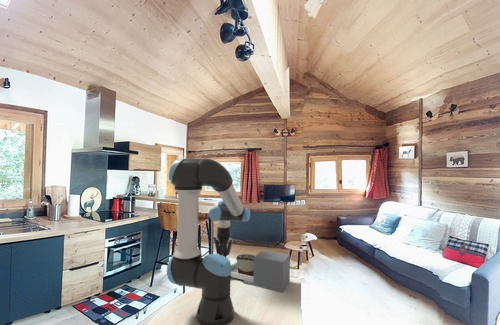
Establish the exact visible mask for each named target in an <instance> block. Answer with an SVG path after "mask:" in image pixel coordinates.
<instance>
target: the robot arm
mask: <svg viewBox="0 0 500 325" xmlns="http://www.w3.org/2000/svg"><path fill="white" fill-rule="evenodd" d="M168 180H169V182H170V184H171V185H173V186H174V191H175V192H176V193H177V230H176V231H177V232H176V233H177V238H176V242H177V243H176V250H175V251H174V252H173V253H172V254H173V255H172V256H171V257H170V258H169V261H168V264H167V266H166V275H167V279H168V281H169V282H170V283H171V284H172V285H177V286H179V287H188V288H195V289H201V298H200V302H199V304H198V306H197V310H196V321H197V322H198V323H199V324H200V325H228V324H229V323H231V322H232V321H233V319H234V317H235V309H234V308H235V307H234V305H233V301H232V298H231V281H232V277H231V265H232V264H231V260H229V258H227V256H229V255H230V254H231V248H232V245H233V242H234V238H231V235H230V234H231V227H230V226H231V221H232V222H240V223H241V222H243V223H244V222H248V221H249V220H250V218H251V210H250V208H249V207H246V206H245V207H244V206H243V204H242V201H241V200H240V197H239V195H238V192H237V191H236V189H235V186H234V184H233V182H234V181H233V176H232V174H230V172H229V170H227V168H226V167H225V166H224V165H222V164H221V163H220V162H218V161H217V160H215V159H211V158H186V157H185V158H178V159H175V161H173V163H172V164H171V165H170V168H169V172H168ZM203 187H211V188H212V189H213V191H215V192H217V193H218V195H219V196H220V199H221V200H219V201H218V202H217V205H216V206H213V207H211V208H209V210H208V218H209V219H210V220H211V221H213V222H215V221H217V233H216V234H217V235H216V236H215V237H213V240H214V245H215V250H216V251H215V252H216V253H211V254H206V255H204V256H203V257H202V251H201V250H200V249H199V247H198V246H199V245H198V244H199V243H198V239H199V235H198V234H199V232H198V231H199V194H200V192H202V190H203Z"/></svg>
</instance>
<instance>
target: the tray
mask: <svg viewBox="0 0 500 325" xmlns="http://www.w3.org/2000/svg"><path fill="white" fill-rule="evenodd" d="M231 278H233V279H234V278H235V279H239V280H243V281H244V280H247V281H251V282H253V276H248V275H244V274H239V273H238V267H237V261H236V262H234V263H233V264H231Z"/></svg>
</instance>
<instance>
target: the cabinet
mask: <svg viewBox="0 0 500 325" xmlns="http://www.w3.org/2000/svg"><path fill="white" fill-rule="evenodd" d="M254 256H255V257H254V277H253V282H251V281H247V280H243V282H242V283H243V284H245V285H249V286H252V287H253V286H255V287H258V288H263V289H266V290H271V291H276V292H278V293H279V292H280V293H284V291H285V290H286V288H287V287H286V286H289V284H288V283H290V279H291V277H290V275H291V274H290V271H291V269H290V268H291V254H289V253H282V252H277V251H272V250H266V249H262V250H261V251H260V252H258V253H257V254H256V255H254Z"/></svg>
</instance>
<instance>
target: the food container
mask: <svg viewBox="0 0 500 325" xmlns="http://www.w3.org/2000/svg"><path fill="white" fill-rule="evenodd" d="M255 256H256V255H254V254H250V253H249V254H248V253H243V254H239V255H237V256H236V258H235V260H236V263H237V267H238V273H239V274H244V275H248V276H253V277H254V257H255Z"/></svg>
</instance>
